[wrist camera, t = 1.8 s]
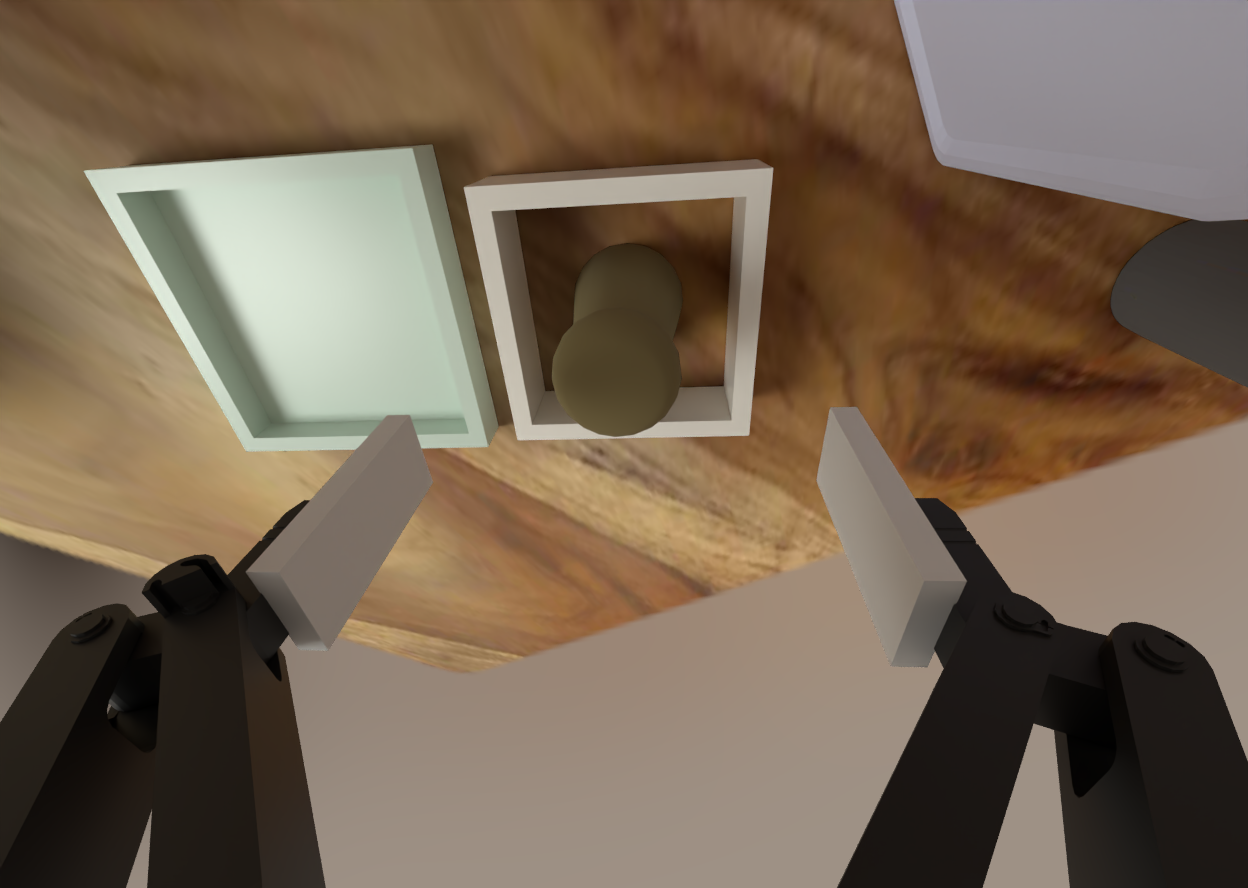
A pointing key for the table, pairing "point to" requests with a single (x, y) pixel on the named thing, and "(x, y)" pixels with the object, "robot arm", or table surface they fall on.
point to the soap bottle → (1090, 96)
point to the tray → (312, 292)
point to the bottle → (1191, 294)
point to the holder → (506, 193)
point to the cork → (621, 343)
